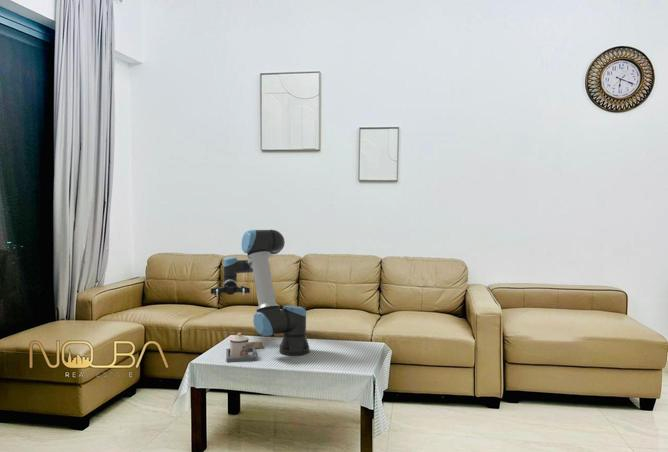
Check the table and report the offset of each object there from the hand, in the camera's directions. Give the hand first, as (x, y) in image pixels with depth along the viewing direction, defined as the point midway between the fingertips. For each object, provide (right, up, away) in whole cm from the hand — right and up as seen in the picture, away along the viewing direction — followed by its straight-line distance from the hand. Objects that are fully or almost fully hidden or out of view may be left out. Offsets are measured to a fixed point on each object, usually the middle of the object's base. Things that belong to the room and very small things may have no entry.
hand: (230, 293), depth 258 cm
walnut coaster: (+10, -29, +7) cm, 31 cm away
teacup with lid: (+8, -30, -12) cm, 33 cm away
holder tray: (+8, -29, -12) cm, 33 cm away
